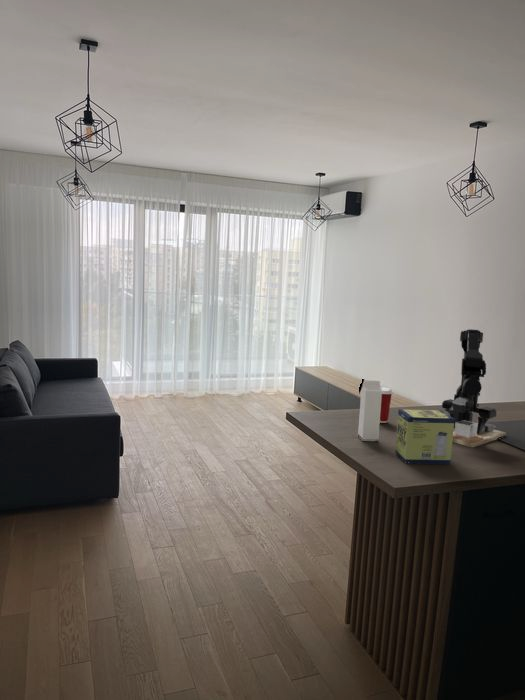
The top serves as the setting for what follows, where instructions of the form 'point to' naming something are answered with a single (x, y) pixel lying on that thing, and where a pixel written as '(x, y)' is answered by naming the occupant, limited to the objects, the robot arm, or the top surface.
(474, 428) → the steel collar
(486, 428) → the bench vise
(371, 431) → the milk
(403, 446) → the protein box
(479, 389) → the robot arm
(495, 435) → the board
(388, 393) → the paper cup
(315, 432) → the top surface
